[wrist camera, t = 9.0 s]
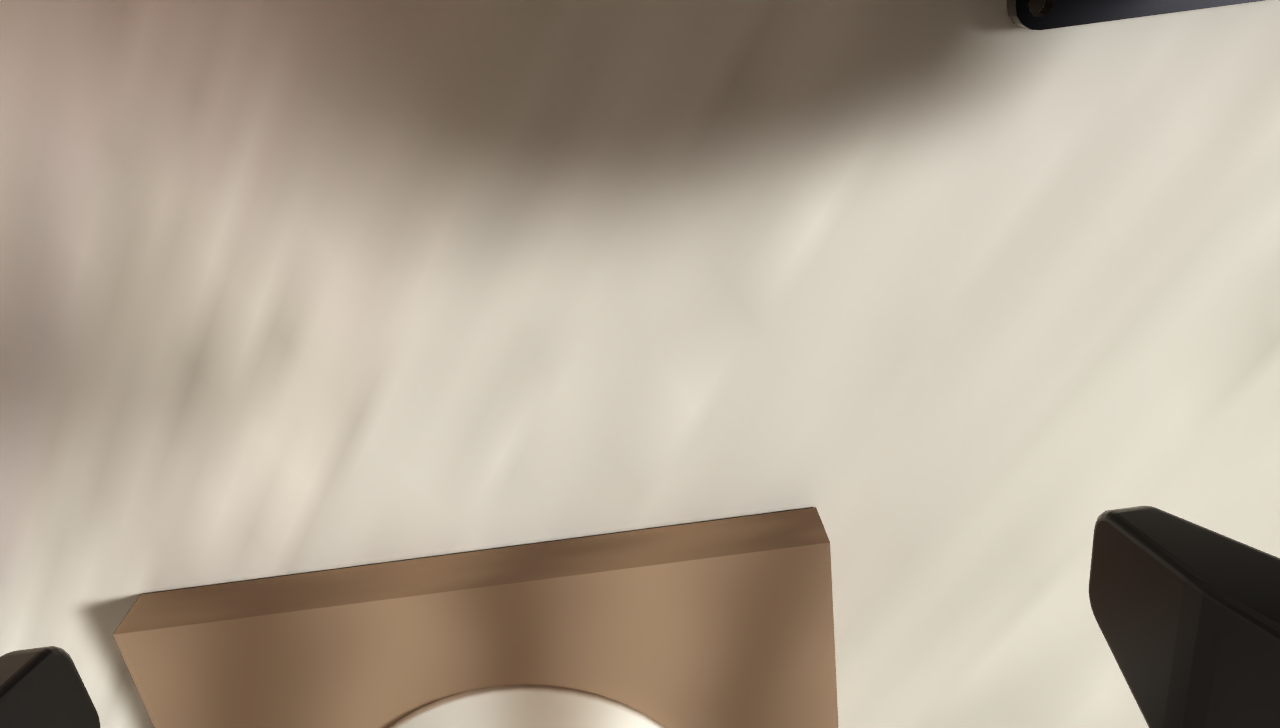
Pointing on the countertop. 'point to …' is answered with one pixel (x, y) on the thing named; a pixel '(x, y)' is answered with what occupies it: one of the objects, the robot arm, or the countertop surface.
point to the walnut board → (511, 637)
